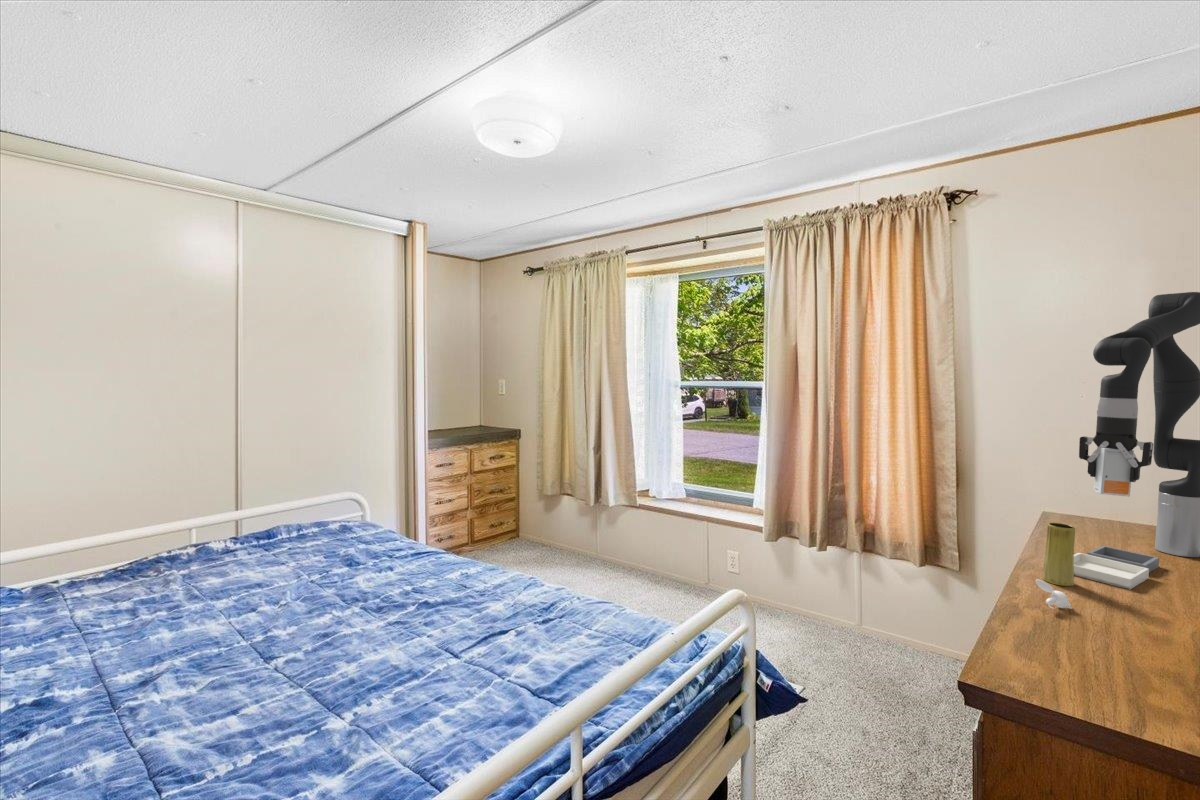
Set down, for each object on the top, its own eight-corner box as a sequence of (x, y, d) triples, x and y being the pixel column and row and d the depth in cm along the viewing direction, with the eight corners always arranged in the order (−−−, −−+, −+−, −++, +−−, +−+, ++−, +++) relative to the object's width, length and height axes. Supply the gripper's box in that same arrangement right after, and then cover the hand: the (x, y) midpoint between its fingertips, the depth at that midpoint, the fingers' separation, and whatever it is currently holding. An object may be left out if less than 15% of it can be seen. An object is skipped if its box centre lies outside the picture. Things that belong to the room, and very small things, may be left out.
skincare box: (1100, 494, 140) (1104, 448, 139) (1093, 491, 144) (1096, 446, 143) (1131, 497, 138) (1134, 450, 137) (1122, 493, 142) (1125, 448, 141)
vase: (1080, 587, 132) (1083, 529, 131) (1051, 585, 133) (1054, 528, 132) (1064, 578, 138) (1067, 522, 137) (1036, 576, 139) (1039, 521, 138)
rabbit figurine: (1083, 614, 117) (1053, 598, 116) (1066, 622, 120) (1037, 607, 119) (1069, 590, 122) (1041, 575, 121) (1053, 598, 124) (1025, 584, 123)
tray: (1078, 561, 150) (1078, 552, 150) (1148, 578, 138) (1149, 568, 138) (1057, 570, 142) (1058, 561, 142) (1129, 589, 131) (1130, 579, 130)
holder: (1102, 554, 156) (1102, 545, 156) (1158, 566, 146) (1159, 557, 146) (1086, 561, 150) (1087, 552, 150) (1144, 575, 140) (1145, 565, 140)
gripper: (1160, 417, 136) (1155, 483, 137) (1086, 413, 148) (1082, 473, 149) (1150, 418, 132) (1145, 485, 133) (1076, 413, 144) (1071, 475, 145)
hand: (1112, 479), depth 141 cm, fingers closed on skincare box, 7 cm apart
